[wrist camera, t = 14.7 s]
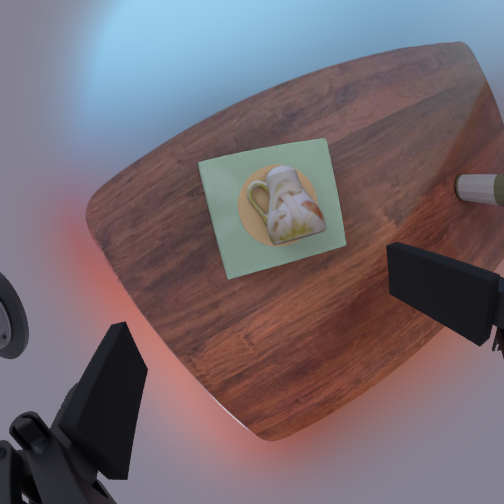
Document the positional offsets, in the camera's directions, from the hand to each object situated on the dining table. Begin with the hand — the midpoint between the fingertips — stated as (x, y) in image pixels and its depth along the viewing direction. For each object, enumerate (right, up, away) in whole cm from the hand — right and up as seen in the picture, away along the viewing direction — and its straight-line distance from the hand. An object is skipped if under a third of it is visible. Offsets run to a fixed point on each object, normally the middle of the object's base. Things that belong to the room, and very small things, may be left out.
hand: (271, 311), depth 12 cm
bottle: (+50, +18, +38) cm, 65 cm away
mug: (+3, +9, +24) cm, 26 cm away
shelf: (+2, +10, +31) cm, 33 cm away
